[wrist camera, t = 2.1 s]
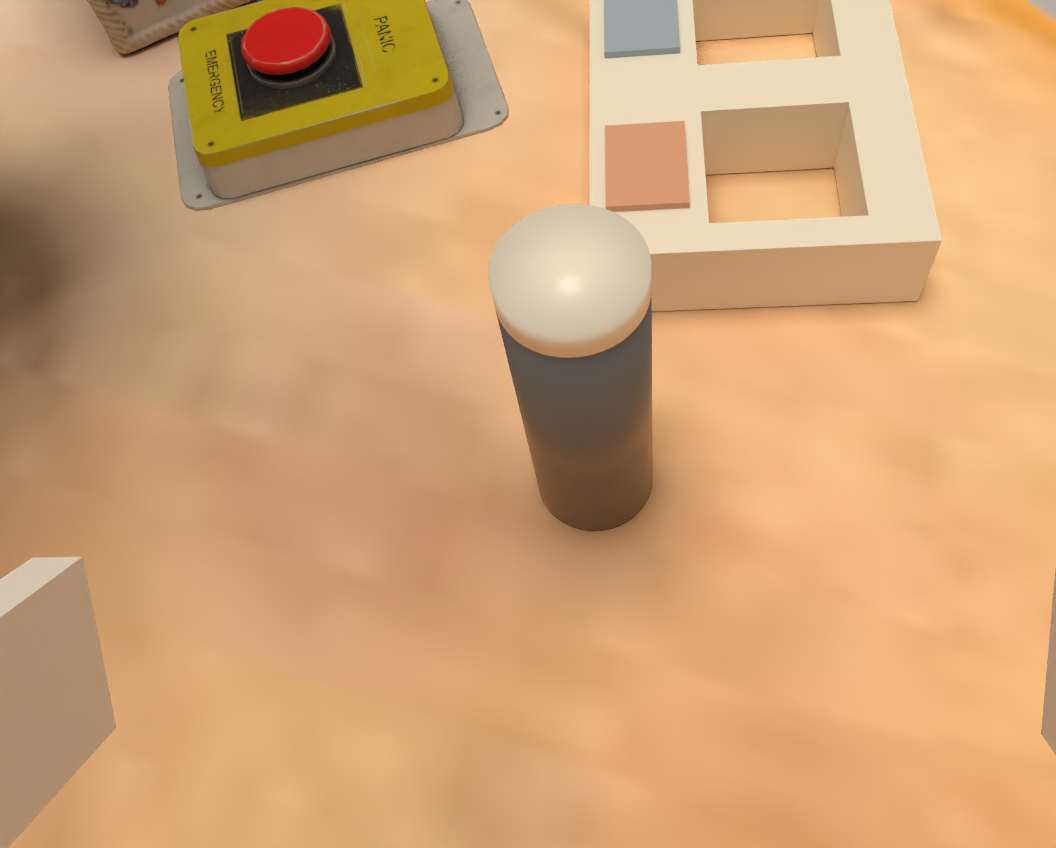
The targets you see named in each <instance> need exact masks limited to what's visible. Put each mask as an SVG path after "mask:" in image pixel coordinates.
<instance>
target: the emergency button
mask: <svg viewBox="0 0 1056 848" xmlns="http://www.w3.org/2000/svg"><path fill="white" fill-rule="evenodd" d="M178 40H179V47H180V55H181V63H182V70H183V71H180V72H178V73H177V74H176V75H175V76H174V77H173V78H172V79H170V83H169V86H168V90H169V98H170V107H171V115H172V124H173V132H174V141H175V149H176V158H177V166H178V175H179V183H180V192H181V198H182V200H183V202H184V203H185V205H186V207H187V208H190V209H193V210H196V211H199V210H208V209H212V208H216V207H220V206H223V205H227V204H230V203H234V202H237V201H241V200H244V199H248V198H251V197H255V196H259V195H262V194H266V193H269V192H273V191H276V190H280V189H283V188H287V187H290V186H294V185H298V184H301V183H305V182H308V181H312V180H315V179H319V178H322V177H326V176H329V175H333V174H336V173H340V172H344V171H347V170H351V169H354V168H358V167H361V166H365V165H368V164H372V163H375V162H379V161H383V160H386V159H390V158H393V157H397V156H400V155H404V154H407V153H411V152H414V151H418V150H421V149H425V148H429V147H432V146H436V145H439V144H443V143H446V142H450V141H453V140H457V139H460V138H464V137H468V136H471V135H475V134H478V133H482V132H485V131H489V130H491V129H493V128H496V127H498V126H500V125H501V124H502V123H503V122H504V121H505V120H506V119H507V118H508V105H507V102H506V100H505V97H504V94H503V92H502V89H501V86H500V83H499V81H498V78H497V75H496V73H495V70H494V67H493V64H492V62H491V59H490V56H489V54H488V51H487V48H486V46H485V43H484V40H483V37H482V35H481V32H480V29H479V27H478V24H477V21H476V18H475V16H474V13H473V10H472V8H471V5H470V3H469V2H468V1H467V0H433V1H429V2H425V0H264V1H260V2H256V3H253V4H249V5H245V6H242V7H238V8H234V9H231V10H227V11H223V12H220V13H216V14H212V15H209V16H205V17H201V18H198V19H194V20H192V21H190V22H188V23H186V24H185V25H184V26H183V27H182V28H181V29H180V31H179V35H178Z"/></svg>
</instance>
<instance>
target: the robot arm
mask: <svg viewBox="0 0 1056 848" xmlns="http://www.w3.org/2000/svg"><path fill="white" fill-rule="evenodd" d="M115 728H116V724H115V719H114V714H113V709H112V704H111V699H110V694H109V689H108V684H107V679H106V673H105V668H104V663H103V658H102V653H101V648H100V643H99V638H98V633H97V628H96V623H95V617H94V612H93V607H92V602H91V597H90V592H89V587H88V582H87V577H86V572H85V567H84V561H83V557H38V558H31V559H30V560H28V561H27V562H25V563H24V564H22V565H21V566H19V567H18V568H16V569H15V570H13V571H12V572H10V573H9V574H7V575H6V576H4V577H3V578H2V579H0V848H8V847H9V846H10V845H11V844H12V843H13V841H14V840H15V839H16V838H17V837H18V836H19V835H20V834H21V833H22V831H23V830H24V829H25V828H26V827H27V826H28V825H29V824H30V823H31V821H32V820H33V819H34V818H35V817H36V816H37V815H38V814H39V813H40V811H41V810H42V809H43V808H44V807H45V806H46V805H47V804H48V803H49V801H50V800H51V799H52V798H53V797H54V796H55V795H56V794H57V793H58V791H59V790H60V789H61V788H62V787H63V786H64V785H65V784H66V783H67V781H68V780H69V779H70V778H71V777H72V776H73V775H74V774H75V773H76V771H77V770H78V769H79V768H80V767H81V766H82V765H83V764H84V763H85V761H86V760H87V759H88V758H89V757H90V756H91V755H92V754H93V753H94V751H95V750H96V749H97V748H98V747H99V746H100V745H101V744H102V743H103V741H104V740H105V739H106V738H107V737H108V736H109V735H110V734H111V733H112V731H113V730H114V729H115ZM1041 734H1042V736H1043V737H1044V739H1045V740H1046V741H1047V743H1048V744H1049V746H1050V747H1051V749H1052V750H1053V752H1054V753H1055V755H1056V570H1055V581H1054V593H1053V604H1052V616H1051V627H1050V639H1049V650H1048V661H1047V673H1046V684H1045V696H1044V707H1043V719H1042V730H1041Z"/></svg>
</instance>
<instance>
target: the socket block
mask: <svg viewBox="0 0 1056 848" xmlns="http://www.w3.org/2000/svg"><path fill="white" fill-rule="evenodd" d="M804 33H813V37H814V44H815V50H816V57H814V58H799V59H784V60H770V61H755V62H740V63H725V64H710V65H697V54H696V41H705V40H719V39H733V38H747V37H762V36H776V35H790V34H804ZM821 168H834V171H835V177H836V184H837V190H838V196H839V203H840V209H841V216H842V217H827V218H807V219H786V220H766V221H746V222H726V223H709V217H708V203H707V190H706V176H705V175H711V174H729V173H748V172H766V171H784V170H802V169H821ZM590 205H592V206H597V207H601V208H604V209H607V210H610V211H612V212H614V213H617V214H619V215H620V216H622V217H623V218H625V219H627V220H628V221H629V222H630V223H631V224H633V225H634V226H635V227H636V228H637V230H638V231H639V232H640V233H641V235H642V236H643V238H644V239H645V241H646V243H647V246H648V248H649V252H650V256H651V298H652V311H676V310H701V309H726V308H752V307H777V306H802V305H828V304H853V303H878V302H904V301H918V299H919V296H920V294H921V291H922V289H923V286H924V284H925V281H926V279H927V276H928V274H929V271H930V269H931V266H932V264H933V261H934V259H935V256H936V254H937V251H938V249H939V246H940V244H941V241H942V240H941V235H940V230H939V226H938V221H937V216H936V212H935V207H934V203H933V198H932V193H931V189H930V184H929V180H928V175H927V170H926V166H925V161H924V157H923V152H922V147H921V143H920V138H919V133H918V129H917V124H916V120H915V115H914V110H913V106H912V101H911V97H910V92H909V87H908V83H907V78H906V74H905V69H904V64H903V60H902V55H901V51H900V46H899V41H898V37H897V32H896V27H895V23H894V18H893V14H892V9H891V4H890V0H590Z"/></svg>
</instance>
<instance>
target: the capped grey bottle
mask: <svg viewBox="0 0 1056 848" xmlns="http://www.w3.org/2000/svg"><path fill="white" fill-rule="evenodd" d="M489 284H490V289H491V293H492V297H493V301H494V305H495V309H496V313H497V317H498V321H499V326H500V330H501V334H502V338H503V342H504V346H505V350H506V354H507V358H508V363H509V367H510V371H511V375H512V379H513V383H514V387H515V391H516V395H517V400H518V404H519V408H520V412H521V416H522V420H523V424H524V428H525V433H526V437H527V441H528V445H529V449H530V453H531V457H532V461H533V465H534V470H535V474H536V478H537V482H538V486H539V490H540V494H541V497H542V499H543V501H544V503H545V505H546V506H547V508H548V509H549V511H550V512H551V513H552V514H553V515H554V516H555V517H557V518H558V519H559V520H560V521H562V522H564V523H565V524H567V525H570V526H572V527H575V528H578V529H582V530H589V531H599V530H606V529H611V528H614V527H617V526H619V525H621V524H624V523H625V522H627V521H628V520H630V519H631V518H633V517H634V516H635V515H636V514H637V513H638V512H639V511H640V510H641V509H642V507H643V506H644V504H645V503H646V501H647V499H648V497H649V494H650V491H651V487H652V298H651V256H650V252H649V248H648V246H647V243H646V241H645V239H644V238H643V236H642V235H641V233H640V232H639V231H638V230H637V228H636V227H635V226H634V225H633V224H631V223H630V222H629V221H628V220H627V219H625V218H623V217H622V216H620V215H619V214H617V213H614V212H612V211H610V210H607V209H604V208H601V207H597V206H592V205H584V204H566V205H558V206H553V207H549V208H546V209H542V210H539V211H537V212H535V213H532V214H530V215H528V216H527V217H525V218H523V219H522V220H520V221H519V222H517V223H516V224H515V225H513V226H512V227H511V228H510V229H509V230H508V231H507V232H506V233H505V234H504V235H503V237H502V238H501V239H500V241H499V242H498V244H497V245H496V247H495V249H494V251H493V253H492V256H491V260H490V264H489Z"/></svg>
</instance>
